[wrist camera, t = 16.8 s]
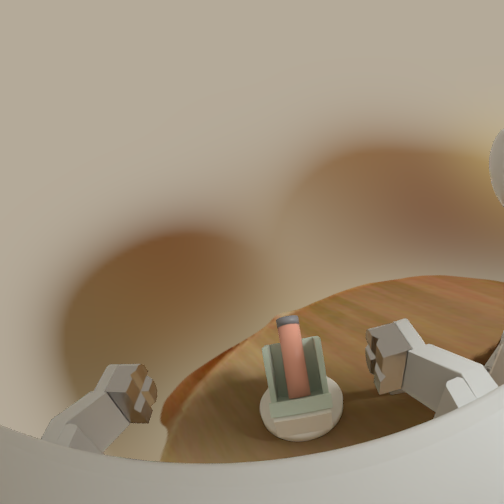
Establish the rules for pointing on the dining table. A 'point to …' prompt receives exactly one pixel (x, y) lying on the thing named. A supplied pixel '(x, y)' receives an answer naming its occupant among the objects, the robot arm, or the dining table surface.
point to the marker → (293, 357)
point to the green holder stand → (303, 408)
